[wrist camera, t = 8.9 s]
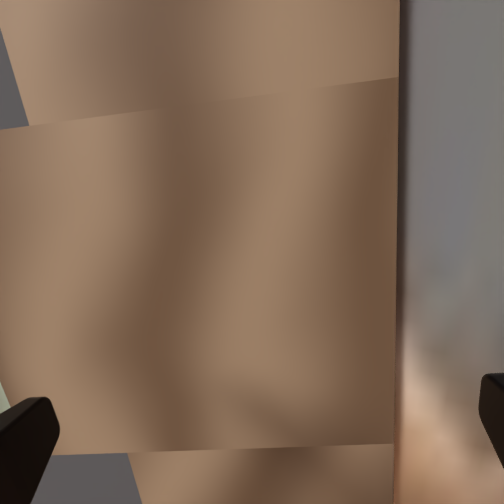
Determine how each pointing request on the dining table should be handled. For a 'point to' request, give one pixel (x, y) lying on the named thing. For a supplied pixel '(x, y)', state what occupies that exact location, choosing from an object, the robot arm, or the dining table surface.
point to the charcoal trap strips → (79, 465)
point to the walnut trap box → (207, 241)
